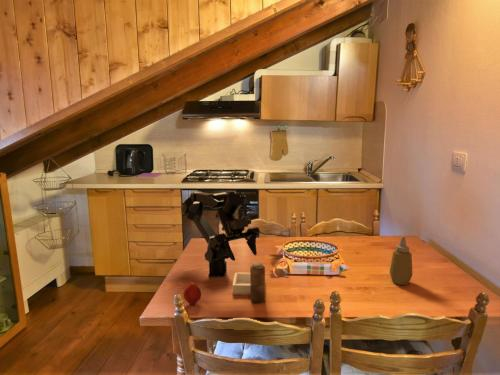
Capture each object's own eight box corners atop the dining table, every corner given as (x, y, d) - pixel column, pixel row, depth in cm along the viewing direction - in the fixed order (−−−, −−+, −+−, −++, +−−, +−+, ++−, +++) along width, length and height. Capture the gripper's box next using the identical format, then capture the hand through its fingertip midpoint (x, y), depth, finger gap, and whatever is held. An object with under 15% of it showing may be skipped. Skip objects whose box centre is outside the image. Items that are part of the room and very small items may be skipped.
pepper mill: (250, 303, 126) (249, 267, 124) (250, 296, 131) (250, 261, 129) (265, 303, 126) (264, 267, 124) (265, 296, 131) (264, 261, 128)
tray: (232, 294, 133) (232, 285, 132) (235, 281, 144) (235, 272, 143) (263, 294, 132) (263, 285, 132) (264, 281, 143) (264, 272, 143)
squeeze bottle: (411, 279, 144) (414, 234, 141) (412, 288, 136) (416, 241, 133) (388, 276, 146) (391, 233, 143) (389, 285, 139) (392, 239, 136)
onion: (185, 300, 129) (184, 279, 127) (201, 299, 129) (201, 278, 128) (183, 309, 123) (182, 286, 121) (201, 308, 123) (200, 285, 122)
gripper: (213, 212, 128) (231, 252, 121) (257, 205, 139) (275, 241, 132) (203, 229, 136) (219, 267, 129) (246, 221, 147) (262, 256, 140)
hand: (245, 257), depth 132 cm, fingers open, 9 cm apart
